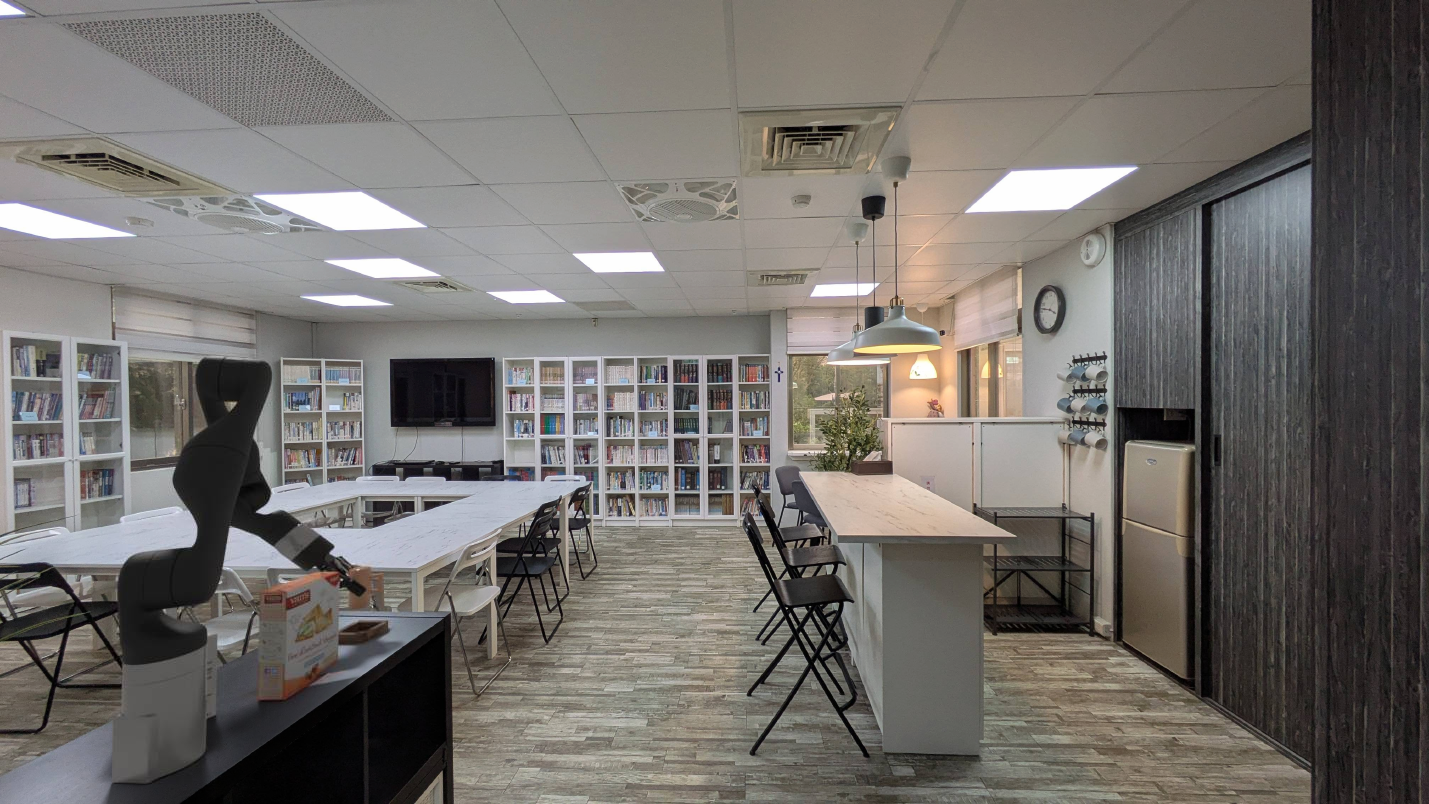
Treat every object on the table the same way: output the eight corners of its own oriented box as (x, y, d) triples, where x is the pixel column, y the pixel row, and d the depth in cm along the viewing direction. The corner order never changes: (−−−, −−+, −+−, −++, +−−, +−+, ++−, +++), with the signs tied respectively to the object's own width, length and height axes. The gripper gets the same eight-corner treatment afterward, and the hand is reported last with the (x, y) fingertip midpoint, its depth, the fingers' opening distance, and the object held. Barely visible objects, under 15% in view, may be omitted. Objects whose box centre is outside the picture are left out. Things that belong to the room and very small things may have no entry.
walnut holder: (364, 650, 121) (364, 635, 121) (326, 650, 122) (326, 635, 122) (393, 633, 130) (393, 619, 131) (357, 633, 131) (357, 619, 131)
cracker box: (286, 701, 99) (287, 590, 100) (255, 702, 99) (256, 591, 100) (341, 667, 113) (341, 570, 114) (313, 667, 113) (314, 570, 114)
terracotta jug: (380, 605, 126) (381, 568, 127) (346, 610, 123) (347, 571, 124) (384, 600, 130) (384, 564, 131) (350, 604, 127) (351, 567, 128)
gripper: (310, 539, 117) (373, 585, 122) (326, 529, 130) (382, 571, 135) (280, 566, 115) (345, 612, 119) (299, 553, 127) (357, 595, 132)
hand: (364, 590), depth 127 cm, fingers closed on terracotta jug, 4 cm apart
